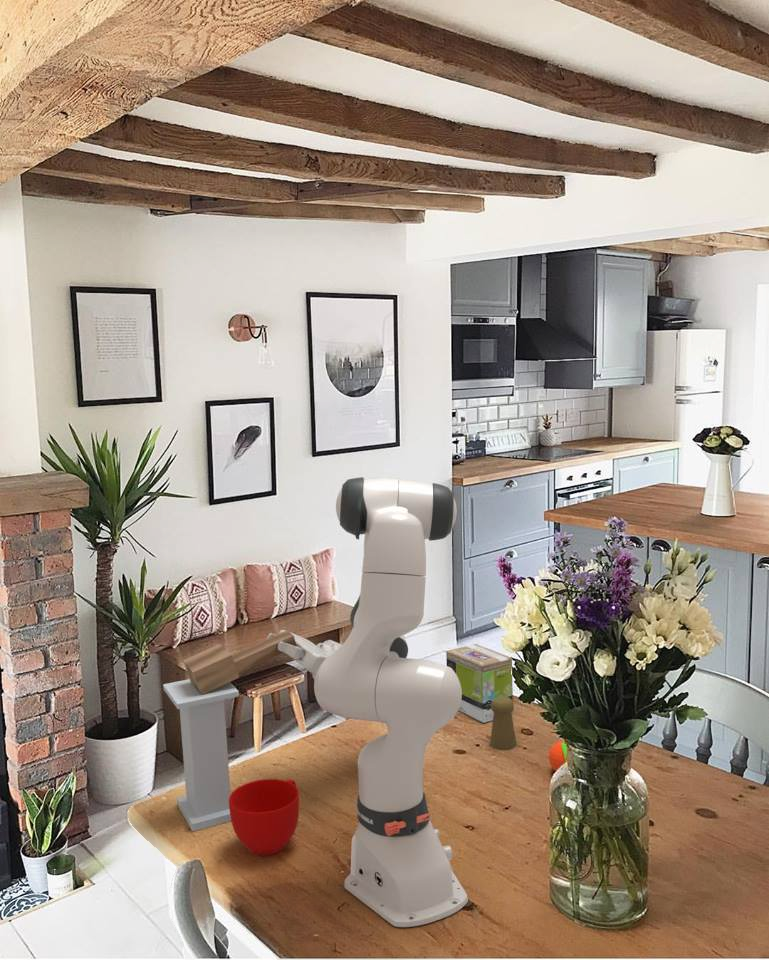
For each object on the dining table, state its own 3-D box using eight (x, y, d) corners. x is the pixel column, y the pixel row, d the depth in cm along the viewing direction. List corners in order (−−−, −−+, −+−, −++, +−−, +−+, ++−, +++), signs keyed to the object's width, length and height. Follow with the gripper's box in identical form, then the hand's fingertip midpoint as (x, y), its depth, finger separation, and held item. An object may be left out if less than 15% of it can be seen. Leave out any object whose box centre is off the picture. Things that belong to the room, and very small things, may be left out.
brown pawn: (487, 748, 203) (486, 702, 202) (492, 737, 209) (491, 692, 207) (514, 751, 201) (513, 704, 200) (518, 739, 207) (517, 694, 206)
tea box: (514, 714, 222) (513, 657, 220) (482, 724, 216) (481, 666, 214) (477, 696, 234) (475, 641, 232) (446, 705, 229) (444, 649, 227)
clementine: (583, 784, 185) (582, 751, 184) (549, 782, 186) (548, 750, 185) (581, 766, 193) (581, 735, 192) (548, 765, 194) (548, 733, 193)
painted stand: (247, 816, 177) (238, 691, 174) (187, 832, 172) (177, 704, 169) (229, 791, 188) (221, 672, 184) (172, 806, 183) (163, 684, 179)
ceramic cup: (324, 824, 173) (322, 776, 172) (278, 871, 158) (275, 818, 157) (267, 812, 179) (264, 765, 177) (217, 857, 163) (214, 805, 162)
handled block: (300, 648, 181) (293, 626, 180) (201, 695, 173) (193, 672, 171) (286, 638, 188) (279, 617, 187) (190, 682, 180) (182, 660, 178)
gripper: (316, 635, 198) (263, 614, 192) (355, 662, 180) (297, 640, 174) (304, 661, 198) (250, 641, 191) (342, 691, 179) (284, 670, 173)
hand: (273, 641), depth 182 cm, fingers closed on handled block, 4 cm apart
